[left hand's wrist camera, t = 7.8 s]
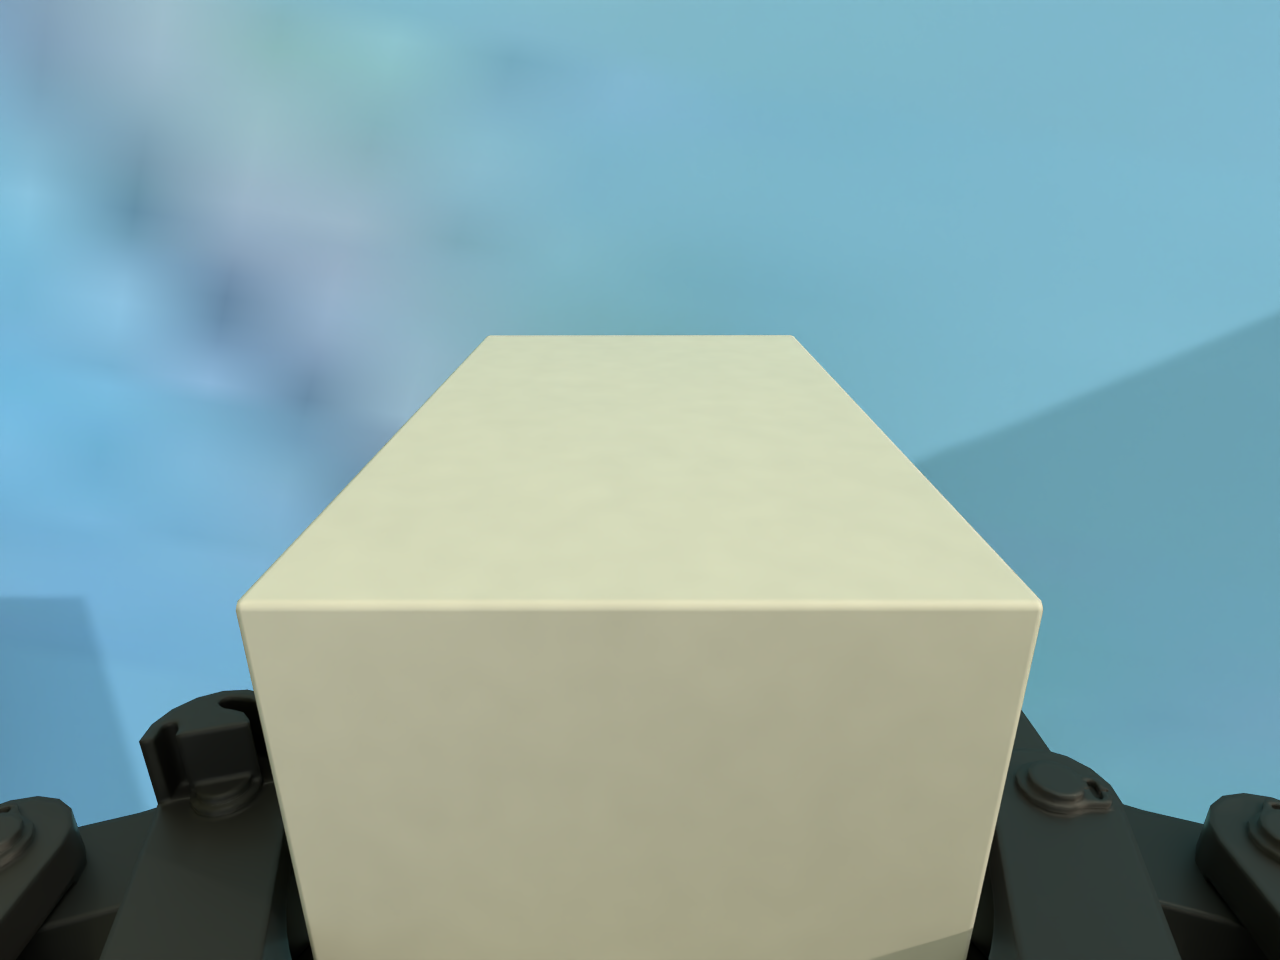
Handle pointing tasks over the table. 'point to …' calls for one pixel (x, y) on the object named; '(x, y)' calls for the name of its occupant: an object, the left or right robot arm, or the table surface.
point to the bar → (639, 671)
